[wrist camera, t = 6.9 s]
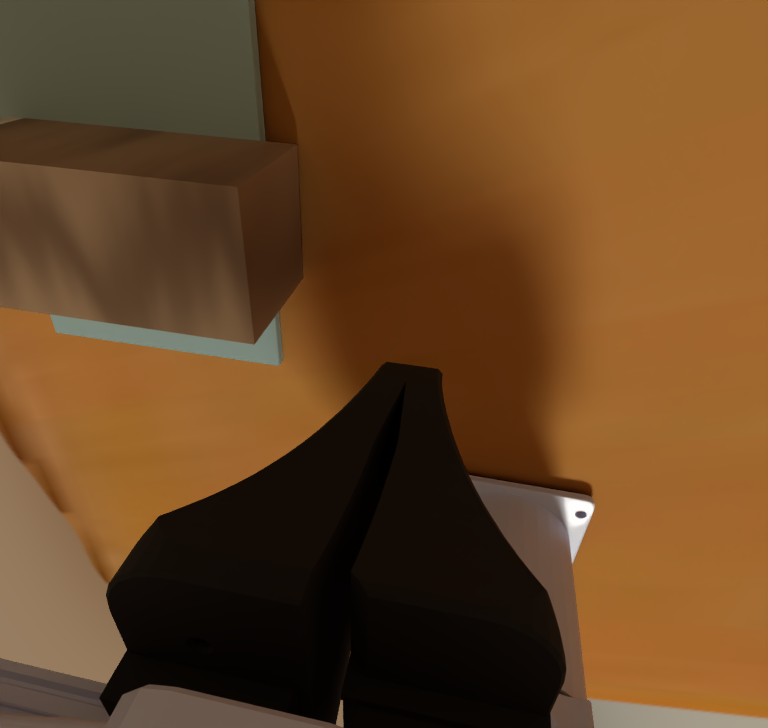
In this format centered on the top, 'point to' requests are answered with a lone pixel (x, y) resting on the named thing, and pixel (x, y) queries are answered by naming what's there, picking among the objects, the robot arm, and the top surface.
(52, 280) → the walnut block
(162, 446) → the top surface
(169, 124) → the mat
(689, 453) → the top surface
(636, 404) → the top surface
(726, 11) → the top surface
